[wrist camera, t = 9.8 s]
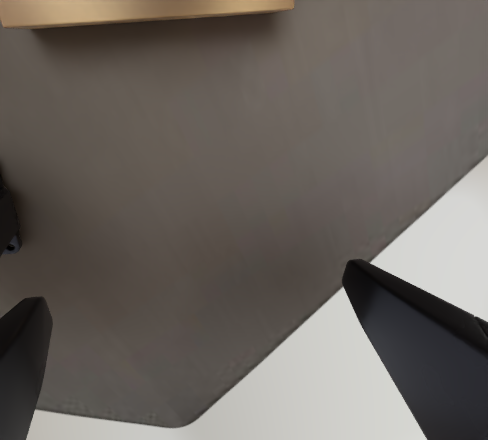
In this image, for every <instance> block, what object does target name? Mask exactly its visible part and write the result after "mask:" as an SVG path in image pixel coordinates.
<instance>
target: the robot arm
mask: <svg viewBox="0 0 488 440" xmlns="http://www.w3.org/2000/svg"><path fill="white" fill-rule="evenodd" d="M19 229H20V223H19V220H18V217H17V213H16V210H15V207H14V204H13V201H12V197H11V194H10V191H9V190H8V189H6V188H5V187H4V185H3V182H2V179H1V176H0V256H1V255H2V254H13V253H17V252H18V251H19V250H20V248H21V246H22V242H21V239H20V236H19V232H18V230H19ZM9 244H12V245H14V246H15V247H11V246H9ZM342 284H343V287H344V289H345V291H346V293H347V296H348V298H349V300H350V302H351V304H352V307H353V309H354V311H355V313H356V315H357V318H358V320H359V322H360V324H361V325H362V328H363V329H364V331H365V333H366V335H367V336H368V338H369V340H370V342H371V343H372V345H373V347H374V349H375V350H376V352H377V354H378V355H379V357H380V359H381V361H382V362H383V364H384V366H385V367H386V369H387V371H388V372H389V374H390V376H391V378H392V380H393V381H394V383H395V385H396V386H397V388H398V390H399V392H400V393H401V395H402V397H403V398H404V400H405V402H406V404H407V405H408V407H409V409H410V410H411V412H412V414H413V416H414V417H415V419H416V421H417V422H418V424H419V426H420V428H421V430H422V431H423V433H424V435H425V437H426V438H427V440H488V322H486V321H484V320H482V319H480V318H479V317H474V315H472V314H470V313H468V312H466V311H464V310H462V309H460V308H458V307H456V306H454V305H452V304H450V303H448V302H446V301H444V300H442V299H440V298H438V297H436V296H434V295H432V294H430V293H428V292H426V291H424V290H422V289H420V288H418V287H416V286H414V285H412V284H410V283H408V282H406V281H404V280H402V279H400V278H398V277H396V276H394V275H392V274H390V273H388V272H386V271H384V270H382V269H380V268H378V267H376V266H374V265H372V264H370V263H368V262H366V261H364V260H362V259H354V260H349V261H348V262H347V265H346V268H345V271H344V274H343V278H342ZM52 325H53V322H52V317H51V314H50V311H49V308H48V306H47V303H46V300H45V299H44V298H43V297H31V298H25V299H23V300H22V301H21V302H19V303H18V304H17V305H16V306H15V307H14V308H12V309H11V310H10V311H9V312H8V313H6V314H5V315H4V316H3V317H2V318H1V319H0V440H26V438H27V434H28V431H29V428H30V424H31V421H32V418H33V414H34V411H35V407H36V404H37V401H38V397H39V394H40V390H41V387H42V383H43V378H44V372H45V367H46V361H47V355H48V349H49V343H50V338H51V332H52Z"/></svg>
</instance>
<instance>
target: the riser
mask: <svg viewBox="0 0 488 440" xmlns="http://www.w3.org/2000/svg"><path fill="white" fill-rule="evenodd" d="M291 9H294V0H0V21H1V23H2V26H3V27H4V28H18V29H38V28H53V27H68V26H83V25H98V24H113V23H128V22H143V21H158V20H173V19H188V18H203V17H218V16H233V15H248V14H263V13H274V12H280V11H286V10H291Z"/></svg>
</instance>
